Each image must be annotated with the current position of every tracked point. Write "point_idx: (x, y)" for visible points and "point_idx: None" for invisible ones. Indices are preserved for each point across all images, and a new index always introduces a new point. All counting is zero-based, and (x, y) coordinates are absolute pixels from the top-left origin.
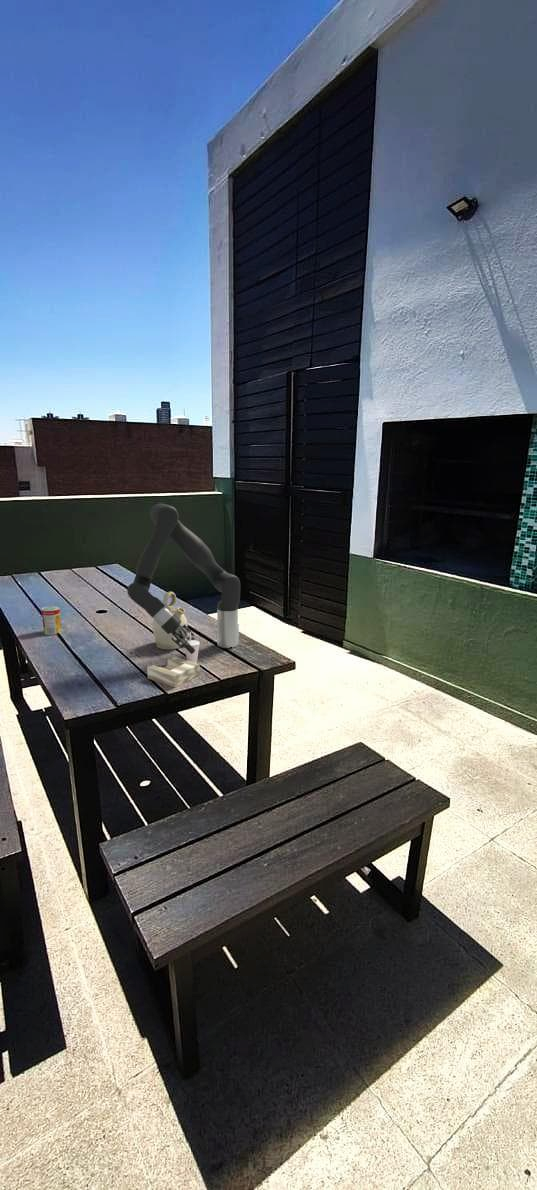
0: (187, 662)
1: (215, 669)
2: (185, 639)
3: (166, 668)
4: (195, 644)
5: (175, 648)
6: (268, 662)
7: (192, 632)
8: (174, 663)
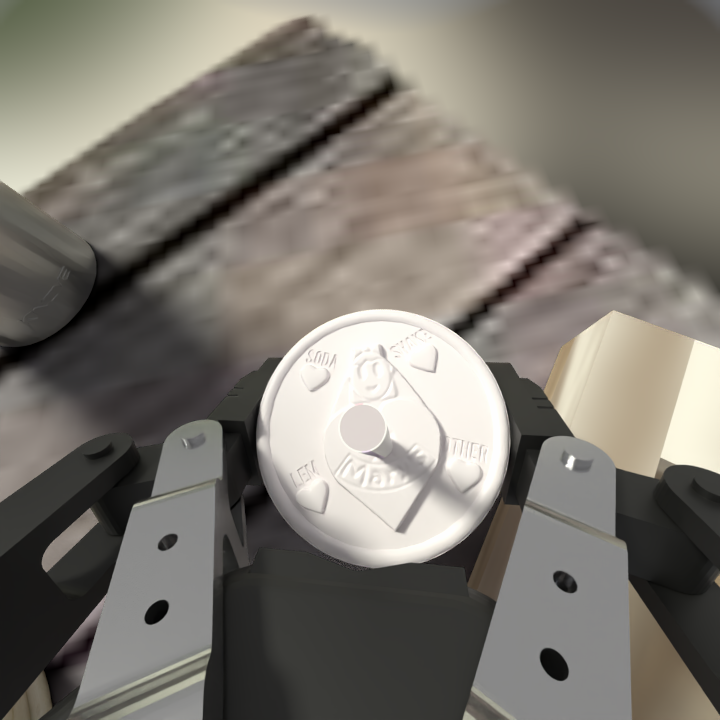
0: (616, 434)
1: (443, 271)
2: (577, 526)
3: None
4: (445, 349)
5: (46, 686)
6: (305, 65)
7: (46, 470)
8: None
